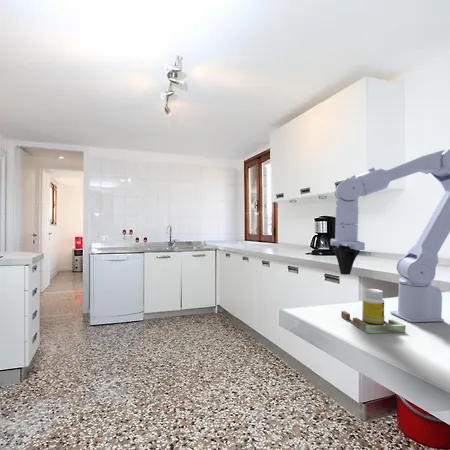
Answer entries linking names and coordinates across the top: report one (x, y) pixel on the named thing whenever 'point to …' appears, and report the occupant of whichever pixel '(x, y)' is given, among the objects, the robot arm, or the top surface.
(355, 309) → the top surface
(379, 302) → the supplement bottle
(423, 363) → the top surface
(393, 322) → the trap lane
